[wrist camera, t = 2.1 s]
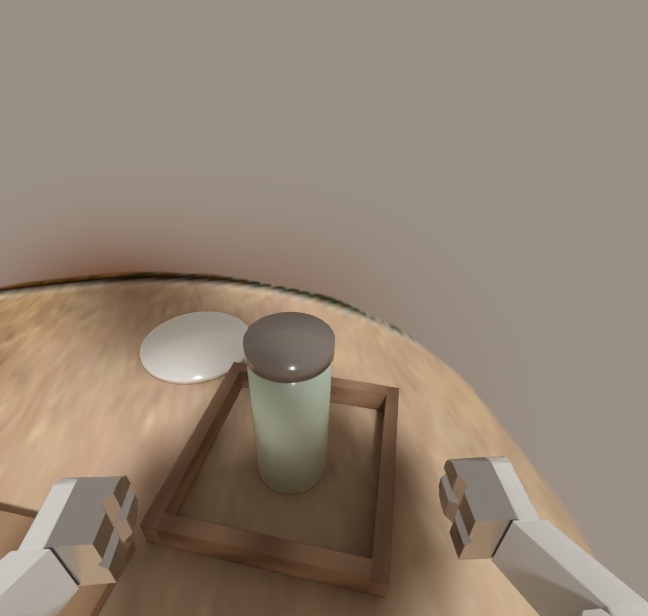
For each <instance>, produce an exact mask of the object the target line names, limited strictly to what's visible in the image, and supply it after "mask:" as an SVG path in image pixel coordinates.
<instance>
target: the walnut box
mask: <svg viewBox="0 0 648 616" xmlns="http://www.w3.org/2000/svg"><path fill="white" fill-rule="evenodd" d="M242 387H245V388H249V379H248V370H247V364H244V363H238V362H233V364H232V366H231V368H230V369H229V371H228V373H227V375H226V376H225V378H224V380H223V382H222V383H221V385H220V387H219V389H218V390H217V392H216V394H215V395H214V397H213V399H212V401H211V402H210V404H209V406H208V408H207V409H206V411H205V413H204V415H203V416H202V418H201V420H200V422H199V423H198V425H197V427H196V428H195V430H194V432H193V434H192V435H191V437H190V439H189V441H188V442H187V444H186V446H185V448H184V449H183V451H182V453H181V455H180V456H179V458H178V460H177V462H176V463H175V465H174V467H173V468H172V470H171V472H170V474H169V475H168V477H167V479H166V481H165V482H164V484H163V486H162V488H161V489H160V491H159V493H158V495H157V496H156V498H155V500H154V502H153V503H152V505H151V507H150V508H149V510H148V512H147V514H146V515H145V517H144V519H143V521H142V522H141V524H140V526H141V529H142V531H143V533H144V535H145V538H146V540H147V542H152V543H156V544H160V545H164V546H169V547H173V548H177V549H181V550H186V551H190V552H194V553H198V554H202V555H207V556H211V557H215V558H219V559H224V560H228V561H232V562H236V563H241V564H245V565H249V566H253V567H257V568H262V569H266V570H270V571H274V572H279V573H283V574H287V575H291V576H296V577H300V578H304V579H308V580H312V581H317V582H321V583H325V584H329V585H334V586H338V587H342V588H346V589H351V590H355V591H359V592H363V593H367V594H372V595H376V596H380V597H384V598H385V595H386V591H387V588H388V584H389V571H390V552H391V532H392V513H393V493H394V474H395V455H396V435H397V416H398V397H399V388H394V387H388V386H382V385H375V384H369V383H363V382H357V381H350V380H344V379H338V378H332V377H331V391H330V402H334V403H340V404H346V405H352V406H358V407H364V408H370V409H376V410H381V411H384V414H383V426H382V437H381V448H380V459H379V470H378V481H377V493H376V504H375V515H374V526H373V537H372V548H371V559H370V558H365V557H361V556H356V555H352V554H347V553H343V552H338V551H334V550H329V549H325V548H320V547H316V546H311V545H307V544H302V543H298V542H294V541H289V540H285V539H280V538H276V537H271V536H267V535H262V534H258V533H253V532H249V531H244V530H240V529H235V528H231V527H226V526H222V525H217V524H213V523H208V522H204V521H200V520H195V519H191V518H186V517H182V516H177V514H178V512H179V510H180V508H181V506H182V504H183V502H184V500H185V498H186V496H187V494H188V492H189V490H190V489H191V487H192V485H193V483H194V481H195V479H196V477H197V475H198V473H199V471H200V469H201V467H202V465H203V463H204V461H205V459H206V457H207V455H208V453H209V451H210V449H211V447H212V445H213V443H214V441H215V439H216V437H217V435H218V433H219V432H220V430H221V428H222V426H223V424H224V422H225V420H226V418H227V416H228V414H229V412H230V410H231V408H232V406H233V404H234V402H235V400H236V398H237V396H238V394H239V392H240V390H241V388H242Z"/></svg>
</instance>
